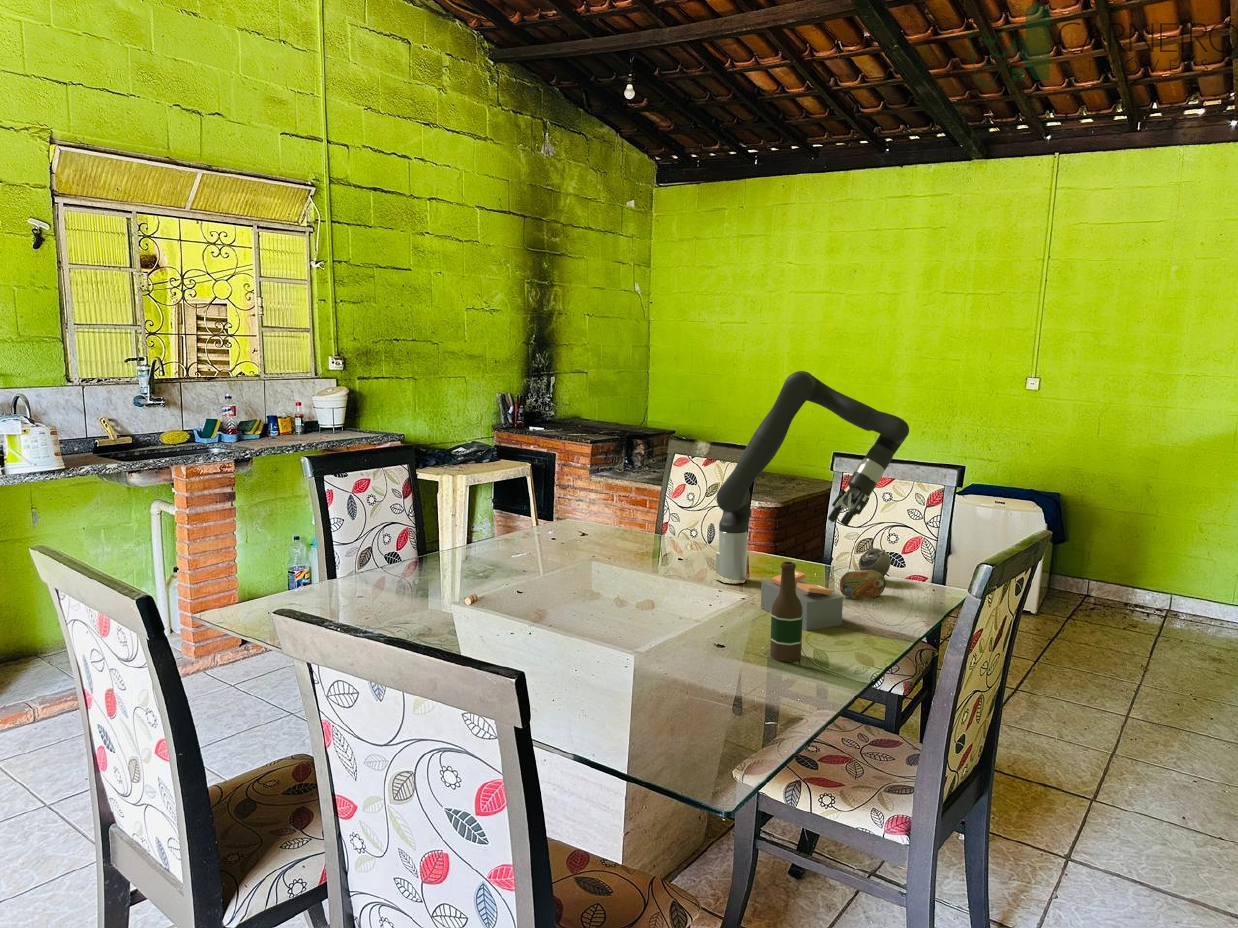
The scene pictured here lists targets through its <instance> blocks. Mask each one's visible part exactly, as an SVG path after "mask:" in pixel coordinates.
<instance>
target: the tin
mask: <svg viewBox="0 0 1238 928" xmlns="http://www.w3.org/2000/svg"><path fill="white" fill-rule="evenodd" d="M886 582H887V581H886V578H885V576H883V574H882V573H881V572H879V571H875V570H864V571H860V570H856V571H848V572H846V573H845V574H843V575H842V576H841V577H840V580H839V590H840V593H841V594H842V596H845V598H848V599H850V600H859V599H870V598H877V597H879V596H881V594H883V592H884V590H885V587H886V585H887V583H886Z"/></svg>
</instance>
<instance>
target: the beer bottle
mask: <svg viewBox="0 0 1238 928" xmlns="http://www.w3.org/2000/svg"><path fill="white" fill-rule="evenodd" d="M780 568H781V574H780V575H781V584H780V592H779V595H778V597H777V598H776V599H775V601H774V604H773V606H772V613H770V614H771V615H770V648H769V649H770V657H771V658H772V659H774V660H776V661H777V662H784V663H794V662H799V661H800V658H801V656H802V647H803V646H802V643H803V642H802V641H803V629H802V618H803V612H802V605H801V602H800V600H799V598H798V597H797V595H796V589H795V570H796V568H797V566H796V563H795V562H792V561H783V562H781V565H780Z"/></svg>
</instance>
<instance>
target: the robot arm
mask: <svg viewBox="0 0 1238 928" xmlns="http://www.w3.org/2000/svg"><path fill="white" fill-rule="evenodd" d="M806 402H810V403H813V404H815V405H819V406H821V407H823V408H825V409H827V410H829V411H830V412H832V413H833V414H835V415H836V416H838V417H840V419H842V420H844V421H846V422H847V423H850V424H852V425H854V426H855V427H858V428H859V429H861V430H864V431H867V432H871V431H872V432H875V433H878V434H879V435H878V437H877V439H876V440H875V443H874V444H873V445H872V446H871V447H870V449H869V450H868V451H867V453H866V454H865V456H864V458H863V459H862V460H861V462H860V463H859V464H858V465H857V466H856V468H855V470H854V472H853V474H852V475H851V476H850V478H849V479H848V481H847V483H846V484H847V487H848V489H847V490H845V489H841V491H840V492H839V493H838V495H837V497H836V498H835V500H834V501H833V503H832V504H831V507H833V509H832V511H831V512H830V513H829V515H828V517H827V520H828V521H830V522H831V523H836V520H837V519H838V517H839V516H840V514H841V513H842V512H843V510H847V511H845V513H844V515H843V516H842V518H841V520H840V524H842V525H844V526H845V527H847V526H848V525H849V524H850V522H851V521H852V520H853V517H854V516H857V515H860V514H861V513H862V511H863V510H864V508H865V506H866V505H867V503H868V502H869V500H870V496H871V494H872V493H873V491H874V489H876V486H877V485H878V484H879V482H880V481H881V479H882V477H883V474H884V473H885V471H886V469H887V468H888V467H889V465H890V463H891V462H892V460H893V458H894V455H895V454H896V453H897V451H898V450H899V449H900V447H901V446H902V444H903V443H904V442H905V440H906V438H907V437H908V436H909V434H910V426H909V424H908V423H907V421H905V420H904V419H903V418H900V417H899V416H898V415H897V416H896V415H894V414H891V413H888V412H884V411H881V410H878V409H876V408H874V407H872V406H870V405H868V404H865V403H863V402H861V401H859V400H856V399H855V398H853V397H850V396H848V395H845V394H844V393H841V392H840V391H837V390H836V389H834V388H832V387H830V386H829V385H827V384H826V383H824V382H822V381H821V380H820V379H818V378H816V377H815V376H814V375H812V373H810V372H808V371H805V370H798V371H795V372H793V373H791V374H790V375H788V376H787V377H786V379H785V381H784V383H783V385H782V387H781V389H780V391H779V394H778V396H777V398H776V399H775V402H774V404H773V406H772V408H771V409H770V410H769V411H768V413H767V414H766V416H765V417H764V418H763V420H762V421H761V423H760V424H759V426H758V427H757V429H755V431H754V433H753V435H752V436H751V438H750V440H749V441H748V443H747V445H746V447H745V449H744V450H743V452H742V454H741V456H740V458H739V459H738V462H737V463H736V466H735V467H734V469H733V470H732V472H731V473H730V474H729V476H728V477H727V478H726V480H725V481H724V483H723V484H722V485H721V486H720V488H719V489H718V491H717V493H716V504H717V506H718V507H719V509H720V510H722V515H721V516H722V517H721V519H720V520H719V522H718V551H716V553H715V574H716V573H717V574H719V575H720V576H722V577H724V578H728V579H732V580H745V579H746V580H747V555H748V554H747V552H748V526H749V522H750V517H751V516H750V514H751V493H750V490H749V489H750V488H751V486H752V484H753V482H754V481H755V480H756V479H757V477H758V476H759V475H760V474H761V473H762V472H764V470H765V468H767V466H768V465H769V464H771V462H772V460H774V457H775V456H776V454H777V453H778V452H779V450H780V448H781V446H782V445H783V443H784V440H785V439H786V436H787V434H788V431H789V430H790V426H791V424H792V422H793V420H794V418H795V417H796V415H797V413H798V412H799V411H800V410H801V408H802V407H803V406H804V404H806Z"/></svg>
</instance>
